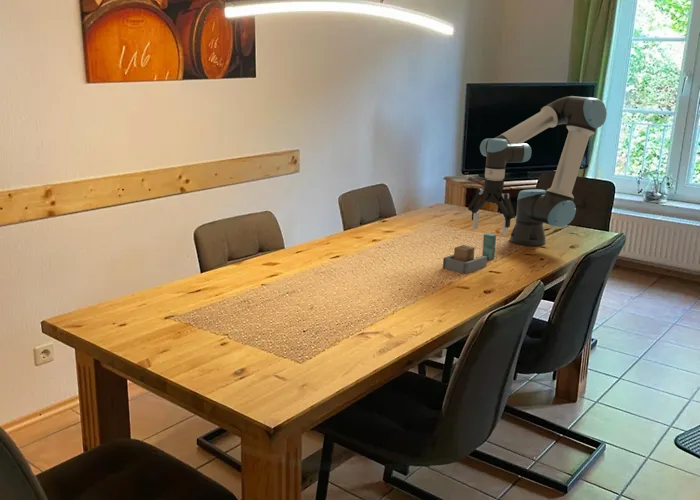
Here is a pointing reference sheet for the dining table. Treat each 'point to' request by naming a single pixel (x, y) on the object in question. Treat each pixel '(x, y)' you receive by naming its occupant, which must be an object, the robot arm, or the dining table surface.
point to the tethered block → (467, 252)
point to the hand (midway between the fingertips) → (489, 231)
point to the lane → (464, 264)
